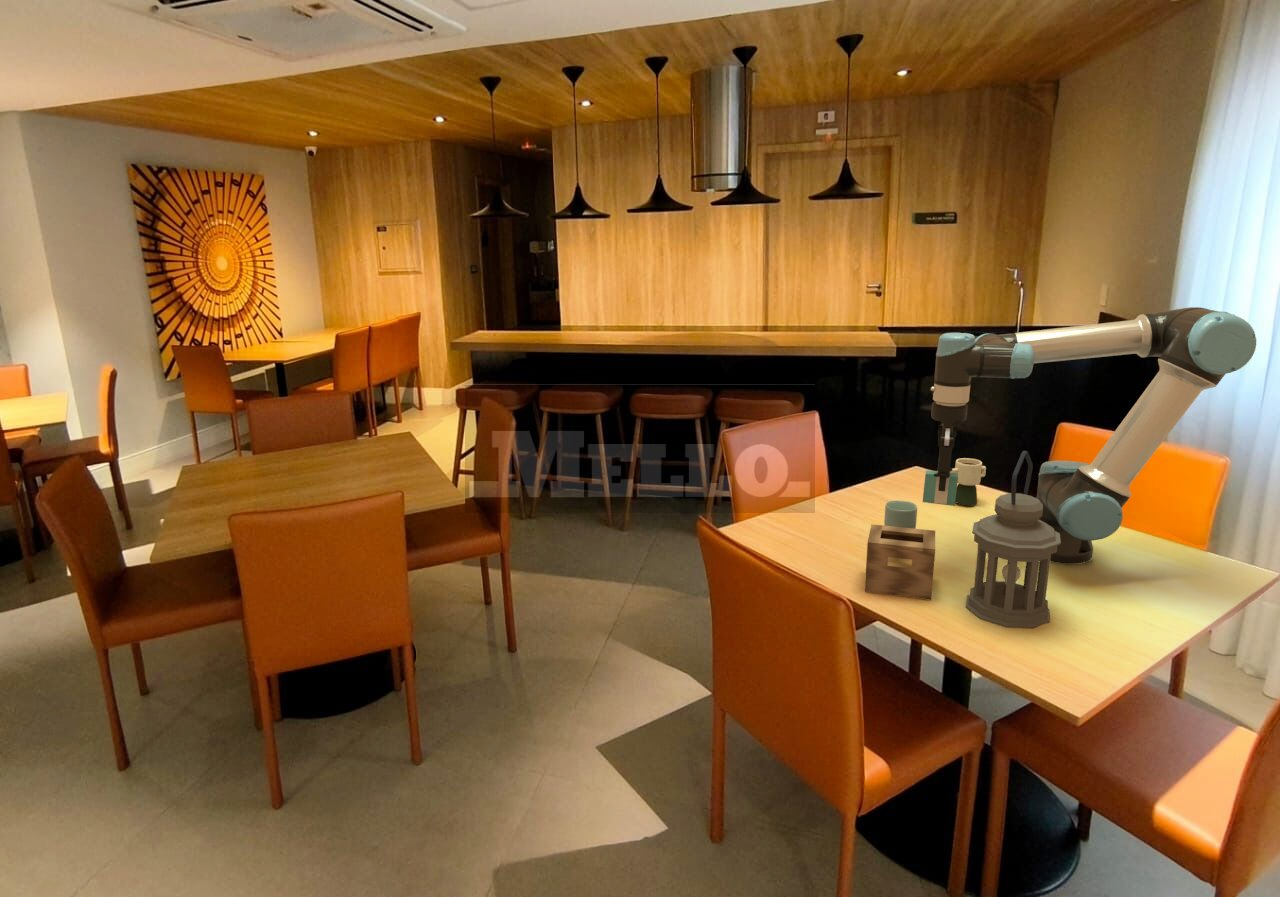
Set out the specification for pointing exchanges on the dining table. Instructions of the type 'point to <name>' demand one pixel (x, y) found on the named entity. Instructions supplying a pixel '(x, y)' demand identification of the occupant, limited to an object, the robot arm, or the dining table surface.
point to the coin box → (900, 561)
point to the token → (931, 485)
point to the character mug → (968, 480)
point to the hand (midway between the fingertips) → (940, 500)
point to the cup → (900, 514)
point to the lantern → (1013, 560)
